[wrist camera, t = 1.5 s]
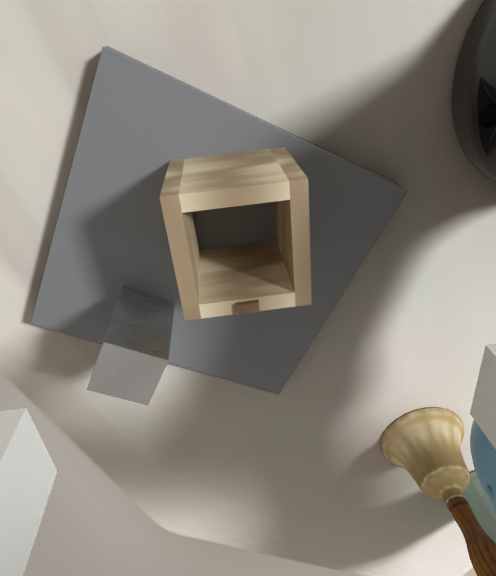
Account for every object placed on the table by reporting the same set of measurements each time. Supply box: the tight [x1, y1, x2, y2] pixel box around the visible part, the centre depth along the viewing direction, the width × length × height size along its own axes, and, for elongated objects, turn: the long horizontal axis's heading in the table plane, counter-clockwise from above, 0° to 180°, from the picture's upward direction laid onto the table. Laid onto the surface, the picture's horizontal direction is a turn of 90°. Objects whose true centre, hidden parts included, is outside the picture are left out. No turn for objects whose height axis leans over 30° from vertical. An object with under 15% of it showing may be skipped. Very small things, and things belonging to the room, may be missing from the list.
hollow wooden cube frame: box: [160, 147, 312, 321], centre depth 25 cm, size 7×7×7 cm
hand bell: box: [381, 407, 496, 576], centre depth 36 cm, size 8×8×16 cm
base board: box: [31, 47, 406, 394], centre depth 30 cm, size 20×19×2 cm
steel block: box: [87, 286, 175, 405], centre depth 29 cm, size 4×4×8 cm
